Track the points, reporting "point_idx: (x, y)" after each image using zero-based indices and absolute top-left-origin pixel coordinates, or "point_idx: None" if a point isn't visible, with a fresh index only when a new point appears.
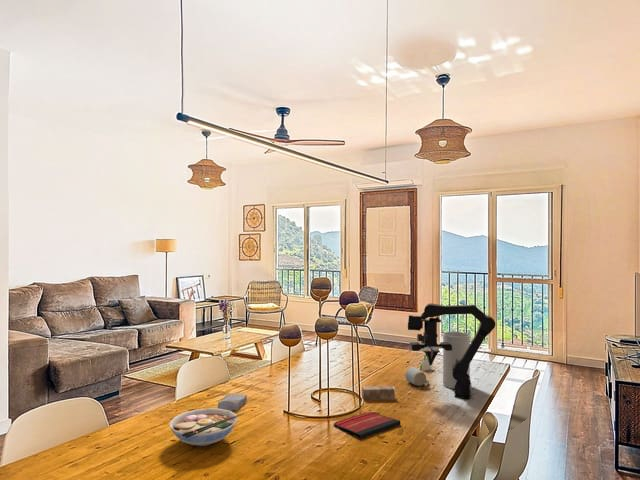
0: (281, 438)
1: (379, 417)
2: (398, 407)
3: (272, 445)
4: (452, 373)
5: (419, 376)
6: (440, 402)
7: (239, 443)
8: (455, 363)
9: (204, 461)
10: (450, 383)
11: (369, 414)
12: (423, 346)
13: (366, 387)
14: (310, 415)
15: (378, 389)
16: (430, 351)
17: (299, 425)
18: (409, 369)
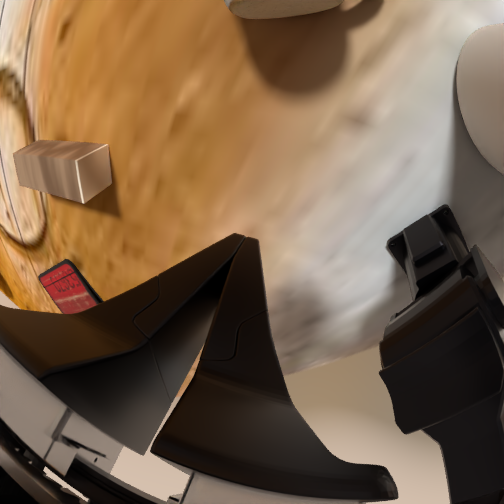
0: (18, 281)
1: (85, 298)
2: (118, 252)
3: (20, 290)
4: (392, 337)
5: (269, 4)
6: (278, 266)
7: (3, 273)
8: (438, 395)
9: (5, 289)
10: (475, 129)
11: (67, 276)
12: (9, 433)
13: (20, 165)
14: (8, 231)
15: (44, 191)
16: (138, 453)
17: (14, 258)
18: None
